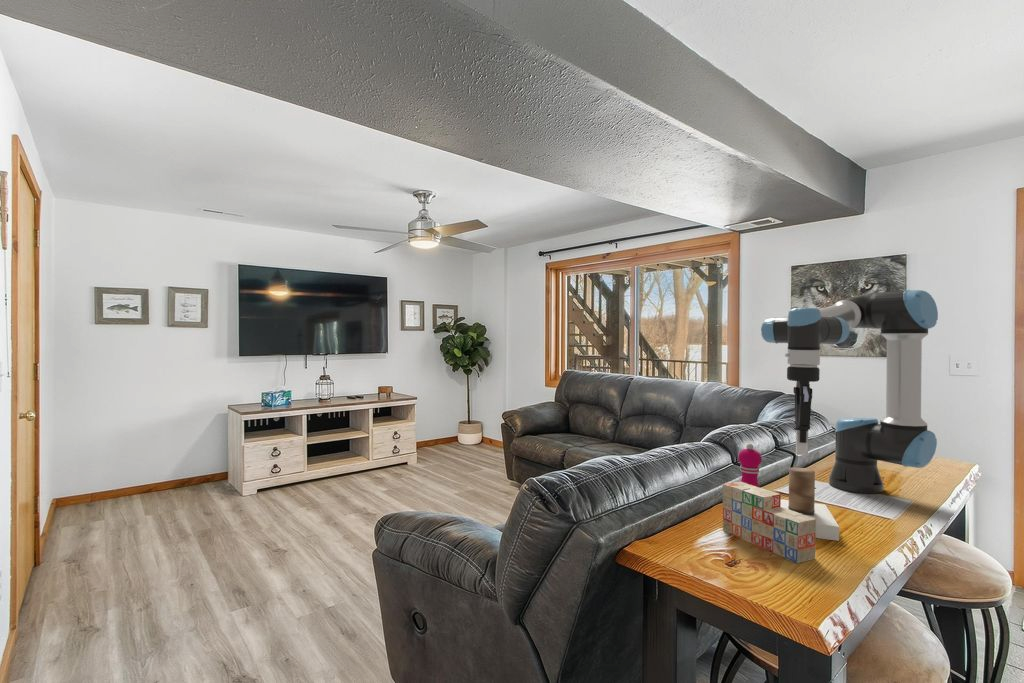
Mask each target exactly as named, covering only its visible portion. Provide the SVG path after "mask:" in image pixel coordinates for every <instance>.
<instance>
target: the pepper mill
mask: <svg viewBox="0 0 1024 683" xmlns="http://www.w3.org/2000/svg"><path fill="white" fill-rule="evenodd" d="M745 447H746V448H744V449H742V450H741V451H740V452H739V453H738V456H737V459H738V462H739V465H740V466H739V471H740V472H741V481H740V482H743V483H747V484H749V485H752V486H756V487H759V488H760V486H759V483H758V482H759V481H758V476H759V473H760V467H759V466H760V465H761V464H762V454H760V452H759V451H757V450H756V449H754V445H753V443H747V444H746V446H745Z"/></svg>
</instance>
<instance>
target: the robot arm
mask: <svg viewBox="0 0 1024 683" xmlns="http://www.w3.org/2000/svg"><path fill="white" fill-rule="evenodd" d="M938 313H939V312H938V307H937V304H936V301H935V300H934V298H933V296H932V295H931V294H930V293H929V292H927V291H925V290H922V289H921V290H920V289H919V290H918V289H907V290H897V291H895V290H893V291H883V292H869V293H865V294H864V293H863V294H860V295H857V296H853V297H849V298H846V299H842V300H839V301H837V302H835V303H834V304H833V305H831V306H826V307H822V308H817V307H816V308H815V307H802V308H801V307H797V308H791V309H790V310H788V316H785V317H773V318H767V319H765V320H764V321H763V323H762V324H761V327H760V331H761V334H760V335H761V337H762V340H764V341H765V342H767V343H770V344H771V343H772V344H787V352H786V353H785V354H784V356H785V357H787V360H786V361H787V364H788V365H789V366H788V367H787V368H786V378H787V380H788V381H793V382H795V383H796V384H795V386H794V387H793V394H794V400H793V401H794V427H793V430H794V431H795V454H796V455H802V456H809V430H811V413H812V412H811V411H812V399H813V388H811V386H810V382H812V383H813V382H819V380H820V371H821V370H820V368H819V367H818V366H819V365H820V364H821V347H820V346H821V345H836V344H841V343H843V342H845V341H846V340H847V339H848V338H849V336H850V331H851V329H857V328H858V329H880V335H881V336H882V337H883V338H885V340H886V382H885V383H886V386H885V387H886V388H885V389H886V391H885V392H886V393H885V397H886V398H885V399H886V404H885V416H883V417H882V418H881V419H880V421H878V418H874V417H850V418H849V417H848V418H845V417H844V418H840V419H838V420H837V421H836V422H835V423H836V424H835V431H834V433H835V437H834V438H835V457H834V458H835V462H834V464H833V466H832V469H831V471H830V474H829V476H828V484H829V485H830V486H832V487H833V488H836V489H840V490H843V491H846V492H847V491H849V492H852V493H853V492H854V493H859V494H860V493H861V494H881V493H883V492H884V482H883V479H882V477H881V474H880V471H879V468H878V462H879V461H880V462H884V463H885V462H886V463H890V464H895V465H900V466H902V467H906V468H910V467H911V468H916V469H919V468H920V469H921V468H923V467H926V466H927V465H929V464H930V462H931V461H932V460H933V457H934V455H935V454H936V450H937V445H938V444H937V443H938V442H937V437H936V434H935V433H934V432H933V431H931V430H928V422H926V421H925V420H924V419H923V418H922V361H923V360H922V358H923V357H922V355H923V354H922V352H923V351H922V349H923V348H922V342H923V339H924V338H925V337H926V336H928V335H929V330H930V329H932V328H934V327H935V326H936V325H937V323H938V322H937V321H938V320H939V314H938Z"/></svg>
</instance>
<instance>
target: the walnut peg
mask: <svg viewBox="0 0 1024 683" xmlns="http://www.w3.org/2000/svg"><path fill="white" fill-rule="evenodd" d="M815 482H816V472H815V470H813V469H810V468H806V467H799V466H798V467H789V468H788V500H789V506H788V508H789V510H792V511H795V512H798V513H801V514H803V515H813V514H814V512H815V510H814V503H816V501H815V500H816V499H815V493H816V492H815V490H816V489H815V488H816V486H815V484H816V483H815Z"/></svg>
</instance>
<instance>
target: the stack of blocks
mask: <svg viewBox="0 0 1024 683" xmlns="http://www.w3.org/2000/svg"><path fill="white" fill-rule="evenodd" d="M781 498H782V496H781V494H780V493H778V492H776V491H775V492H774V491H771V490H768V489H765V488H763V487H760V486H759V487H756V486H752V485H749V484H747V483H743V482H741V481H735V482H729V483H723V484H722V531H725V532H726V533H728V534H730V533H731V535H733V536H735V537H737V538H738V539H739V538H740V539H742V540H743V541H746V542H748V543H751V544H753V545H755V546H757V547H759V548H762V549H765V550H767V551H768V550H769V552H771V553H773V554H775V555H778V556H779V557H782V558H784V559H787V560H788V559H789V561H791V562H793V563H795V564H800V563H804V562H808V560H809V561H812V559H813V560H815V559H816V539H817V538H816V536H815V532H816V519H815V518H812V517H809V516H806V515H803V514H801V513H798V512H795V511H792V510H789V509H786V508H783V507H780V506H781Z"/></svg>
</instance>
